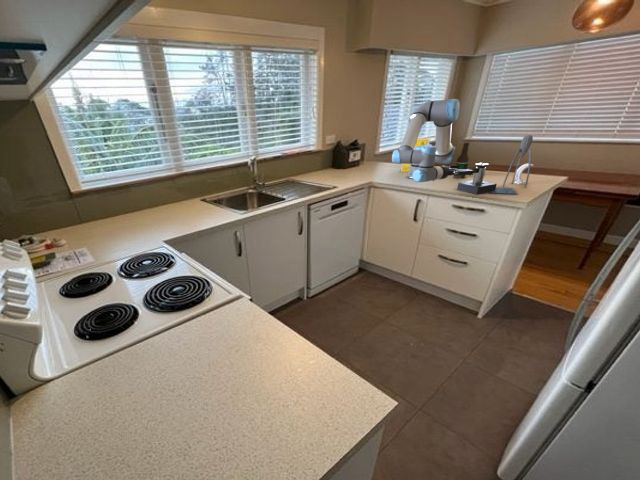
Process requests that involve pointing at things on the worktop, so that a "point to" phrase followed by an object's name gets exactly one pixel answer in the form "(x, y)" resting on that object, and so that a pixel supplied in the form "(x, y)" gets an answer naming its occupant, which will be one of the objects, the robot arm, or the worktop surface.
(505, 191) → the mat
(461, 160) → the beer bottle
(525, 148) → the citrus juicer
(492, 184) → the blender base
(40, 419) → the worktop surface
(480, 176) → the blade unit
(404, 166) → the packaging box
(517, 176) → the curved silver pipe
